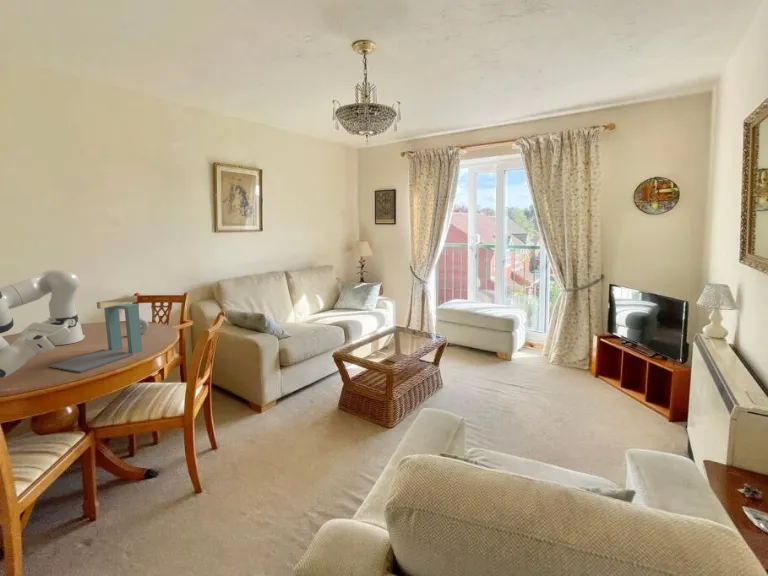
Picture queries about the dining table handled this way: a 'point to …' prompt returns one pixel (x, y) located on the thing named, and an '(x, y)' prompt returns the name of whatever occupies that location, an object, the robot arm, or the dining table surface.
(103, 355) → the mat
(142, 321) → the donut
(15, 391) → the dining table surface
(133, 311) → the teal arch
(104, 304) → the stick
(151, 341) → the dining table surface
